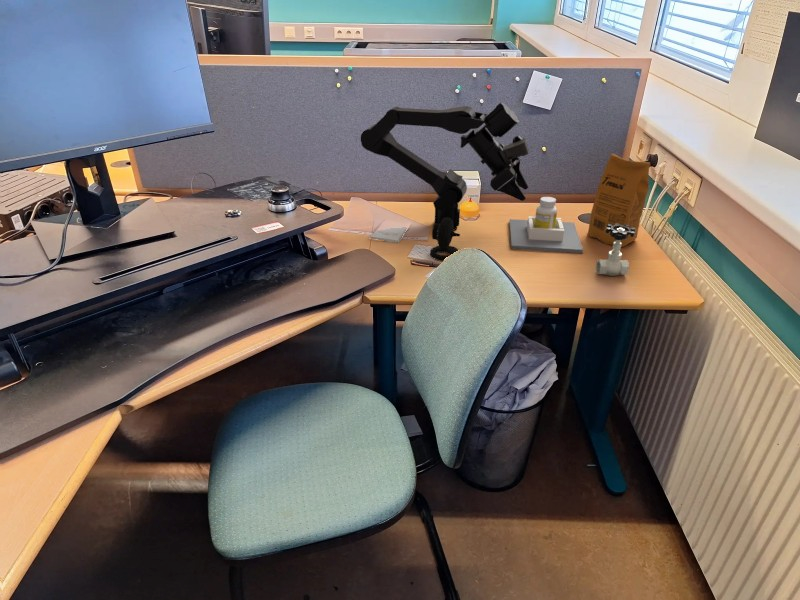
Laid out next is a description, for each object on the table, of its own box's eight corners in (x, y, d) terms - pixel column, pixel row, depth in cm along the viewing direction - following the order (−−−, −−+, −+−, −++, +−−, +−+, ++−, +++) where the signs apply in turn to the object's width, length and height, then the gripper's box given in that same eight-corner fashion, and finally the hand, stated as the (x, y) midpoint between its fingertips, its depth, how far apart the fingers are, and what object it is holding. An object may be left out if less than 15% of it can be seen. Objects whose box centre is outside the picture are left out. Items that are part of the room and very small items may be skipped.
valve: (592, 268, 133) (602, 222, 127) (620, 268, 133) (630, 222, 127) (600, 281, 128) (610, 234, 122) (629, 281, 127) (640, 234, 121)
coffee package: (601, 226, 155) (617, 148, 144) (641, 240, 147) (661, 159, 136) (580, 235, 150) (594, 155, 139) (620, 250, 142) (639, 167, 130)
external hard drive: (411, 227, 156) (398, 245, 146) (384, 224, 158) (369, 241, 148) (411, 222, 155) (398, 239, 145) (384, 219, 157) (369, 236, 147)
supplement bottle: (546, 228, 151) (551, 194, 146) (557, 236, 147) (563, 201, 142) (529, 231, 150) (534, 196, 145) (539, 238, 146) (544, 203, 141)
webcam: (435, 246, 144) (436, 211, 139) (462, 251, 141) (465, 215, 136) (425, 259, 138) (426, 222, 132) (454, 264, 135) (456, 226, 130)
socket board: (511, 249, 142) (512, 234, 140) (509, 222, 158) (510, 209, 156) (582, 253, 140) (585, 238, 138) (573, 225, 156) (575, 212, 154)
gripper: (508, 136, 130) (549, 186, 133) (515, 120, 145) (552, 164, 148) (473, 166, 135) (513, 213, 138) (483, 147, 151) (519, 190, 154)
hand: (525, 194), depth 145 cm, fingers open, 9 cm apart
